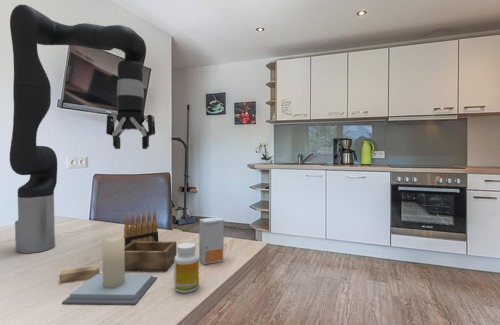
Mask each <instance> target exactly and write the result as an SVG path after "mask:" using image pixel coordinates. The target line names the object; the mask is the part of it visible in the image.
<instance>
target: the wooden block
mask: <svg viewBox="0 0 500 325" xmlns="http://www.w3.org/2000/svg"><path fill="white" fill-rule="evenodd" d="M96 274H100V265H94V266H88V267H87V266H86V267H79V268H72V269H67V270H66V269H65V270H61V271H60V273H59V276H58V278H59V279H58V280H59V285H61V284H66V283H73V282H79V281H85V280H87V281H88V280H89V279H91V278H92V277H93V276H95V275H96Z"/></svg>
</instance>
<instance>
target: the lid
mask: <svg viewBox="0 0 500 325" xmlns="http://www.w3.org/2000/svg"><path fill="white" fill-rule="evenodd" d="M101 241H102V242H101V243H102V244H101V245H102V249H101V250H102V252H101V253H102V273H99V274H96V275H95V276H93V277H92V278H91V279H87V281H86V282H84V283H82V284H81V285H80V286H78V287H77V288H76V289H75V290H73V291H71V292H70V293H69V297H70V299H126V300H135V299H136V297H137V296H138V295H139V294H140V293H141V292H142V290H143V289H144V288H145V287H146V286H147V285H148V283H149V282H150V281H151V280H152V277H153V274H139V273H138V274H133V273H132V274H131V273H130V274H126V273H125V272H126V271H125V252H124V236H121V235H120V236H118V235H117V236H109V237H106V238H103V239H102V240H101Z"/></svg>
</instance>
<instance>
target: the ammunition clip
mask: <svg viewBox="0 0 500 325" xmlns="http://www.w3.org/2000/svg"><path fill="white" fill-rule="evenodd" d="M146 216H147V217H146ZM129 218H130V219H129ZM157 218H158V217H157V212H156V210H154V211H153V213H152V214H151V211H148V212H147V215H146V214H145V211H143V213H142V215H141V214H140V213H139V212H137V214H136V219H135V215H134V213H132V214H131V216H130V217H129V215H128V214H125V217H124V229H123V237H124V247H125V246H126V245H128V244H129V243H131V242H132V241H159V230H158V220H157Z"/></svg>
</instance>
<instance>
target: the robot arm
mask: <svg viewBox="0 0 500 325" xmlns="http://www.w3.org/2000/svg"><path fill="white" fill-rule="evenodd" d="M9 18H10V19H9V29H10V37H11V43H12V46H11V47H12V53H13V54H12V55H13V57H12V58H13V86H12V91H13V97H12V98H13V119H12V120H13V121H12V123H13V124H12V132H11V133H12V134H11V141H10V147H9V164H10V167H11V170H12V171H13V172H14V173H15V174H17V175H20V176H29V179H28V181H27V182H26V183H24V184H22V185H21V186H20V187H18V188H17V216H18V217H17V219H18V220H15V222H14V232H15V234H14V236H15V237H14V238H15V252H18V253H21V254H33V253H39V252H44V251H49V250H50V249H53V248H54V247H55V246H56V238H55V236H56V235H55V234H56V231H55V229H56V228H55V226H56V224H55V195H54V194H55V188H56V186H57V181H58V180H57V179H58V158H57V154H56V153H55V151H54V149H52V148H51V147H49V146H46V145H37V135H38V134H37V133H38V130H39V127H40V125H41V123H42V121H43V120H44V119H45V117H46V115H47V114H48V112H49V110H50V107H51V103H52V98H51V97H52V91H51V89H52V87H51V82H50V79H49V76H48V74H47V73H46V70H45V69H44V66H43V63H42V62H41V60H40V57H39V53H38V52H39V51H38V45H42V46H73V47H74V46H76V47H83V48H88V49H93V50H101V51H107V52H108V51H112V50H114V49H115V50H119V51H122V52H123V53H124V60H120V61H119V62H118V64H117V86H116V98H117V100H116V101H117V102H116V106H117V108H116V109H117V115H111V114H108V115H106V132H105V133H106V135H109V136H111V137H112V146H113V148H114V149H115V150H120V149H121V137H120V136H121V135H122V133H123V132H125V130H137V131H139V132H140V134H141V135H142V137H141V146H142V148H141V149H142V150H147V149H148V148H149V147H150V137H151V136H154V135H156V123H155V116H154V115H152V114H148V115H145V114H144V113H145V111H144V110H145V108H144V107H145V106H144V104H145V102H144V101H145V98H144V96H145V94H144V86H143V81H144V79H143V78H144V77H143V75H144V74H143V68H144V65H145V60H146V55H147V47H146V42H145V40H144V39H143V37H142V36H140V35H139V34H138V33H137V32H136V31H135V30H134V29H133V28H130V27H129V26H126V25H122V24H113V25H99V24H95V23H94V24H93V23H88V22H87V23H85V22H84V23H83V22H82V23H77V24H74V25H68V24H63V23H60V22H58V21H55V20H52V19H51V18H50V17H48V16H47V15H45V14H43V13H42V12H40V11H39V10H37V9H35V8H33V7H32V6H30V5H27V4H18V5H16V6H15V7H14V8H13V9H12V11H11V14H10V17H9ZM116 122H118V123H117V125H116ZM144 122H146V123H147V128H146V127H145V125H144V124H143V123H144ZM115 125H116V127H115Z"/></svg>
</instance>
